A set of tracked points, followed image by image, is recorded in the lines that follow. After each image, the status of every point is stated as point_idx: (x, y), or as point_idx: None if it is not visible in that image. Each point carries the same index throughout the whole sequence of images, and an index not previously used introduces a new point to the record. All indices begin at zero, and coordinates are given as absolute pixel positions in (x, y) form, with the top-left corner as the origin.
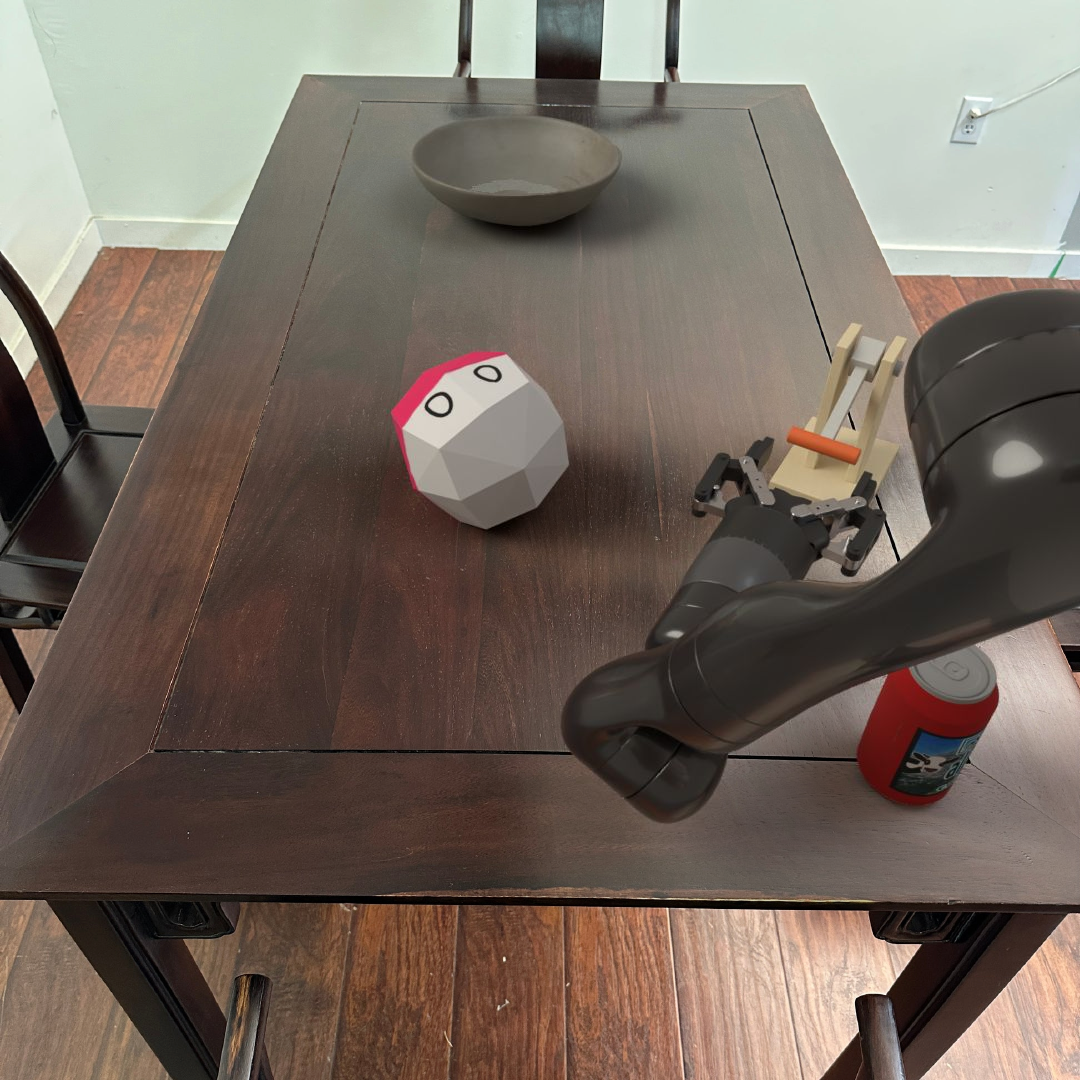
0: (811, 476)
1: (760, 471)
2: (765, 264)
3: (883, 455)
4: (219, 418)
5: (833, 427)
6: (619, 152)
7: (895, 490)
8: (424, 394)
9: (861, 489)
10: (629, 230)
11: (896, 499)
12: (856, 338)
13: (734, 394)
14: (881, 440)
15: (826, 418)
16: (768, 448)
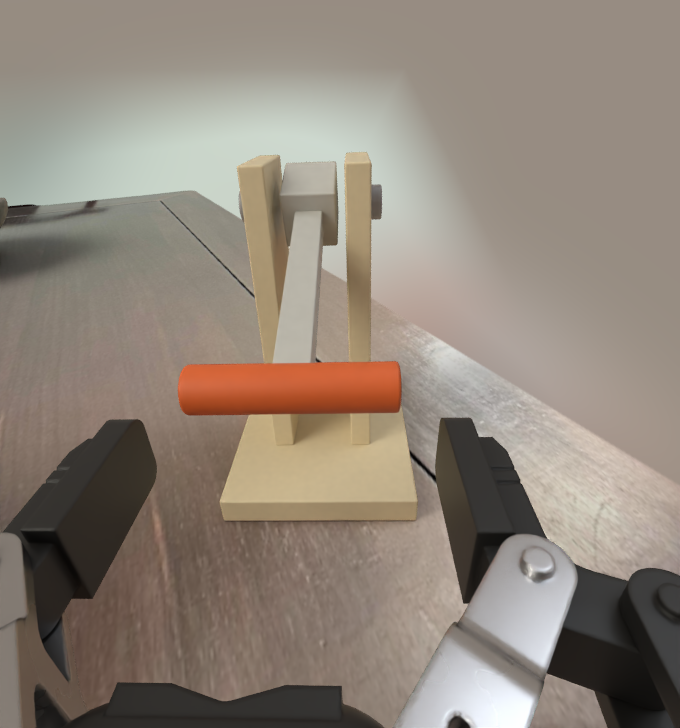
0: (294, 459)
1: (14, 621)
2: (182, 261)
3: None
4: None
5: (299, 332)
6: (1, 198)
7: (425, 429)
8: None
9: (492, 493)
10: (37, 267)
11: (436, 443)
12: (276, 172)
13: (152, 376)
14: None
15: None
16: (117, 458)
